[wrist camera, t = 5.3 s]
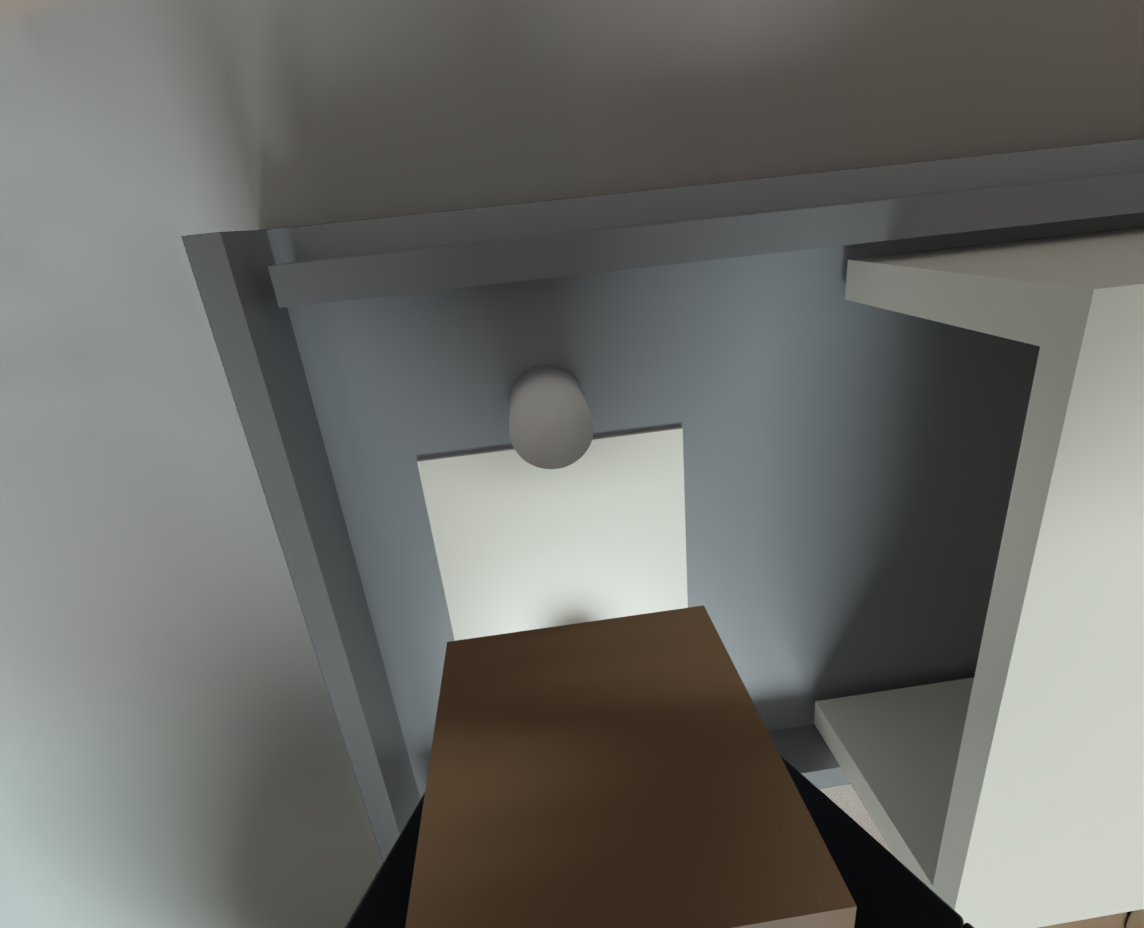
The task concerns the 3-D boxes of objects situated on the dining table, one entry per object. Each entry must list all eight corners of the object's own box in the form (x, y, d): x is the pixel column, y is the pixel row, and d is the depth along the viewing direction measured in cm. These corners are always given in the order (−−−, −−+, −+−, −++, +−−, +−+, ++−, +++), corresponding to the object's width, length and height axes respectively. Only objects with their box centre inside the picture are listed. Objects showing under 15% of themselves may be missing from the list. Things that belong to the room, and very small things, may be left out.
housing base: (410, 784, 19) (392, 890, 16) (258, 232, 13) (181, 235, 10) (1086, 681, 20) (1187, 762, 17) (1246, 129, 14) (1448, 104, 11)
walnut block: (486, 824, 11) (472, 1204, 7) (447, 642, 9) (397, 985, 5) (707, 788, 11) (828, 1135, 7) (704, 605, 9) (856, 906, 5)
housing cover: (813, 723, 17) (947, 943, 12) (847, 259, 12) (1094, 289, 7) (1112, 677, 18) (1365, 870, 12) (1255, 213, 13) (1764, 210, 8)
